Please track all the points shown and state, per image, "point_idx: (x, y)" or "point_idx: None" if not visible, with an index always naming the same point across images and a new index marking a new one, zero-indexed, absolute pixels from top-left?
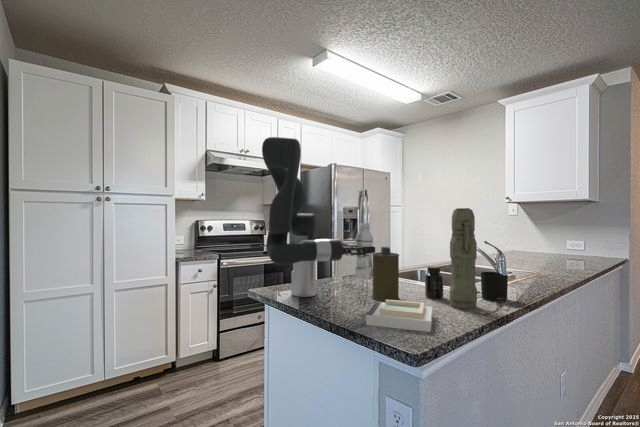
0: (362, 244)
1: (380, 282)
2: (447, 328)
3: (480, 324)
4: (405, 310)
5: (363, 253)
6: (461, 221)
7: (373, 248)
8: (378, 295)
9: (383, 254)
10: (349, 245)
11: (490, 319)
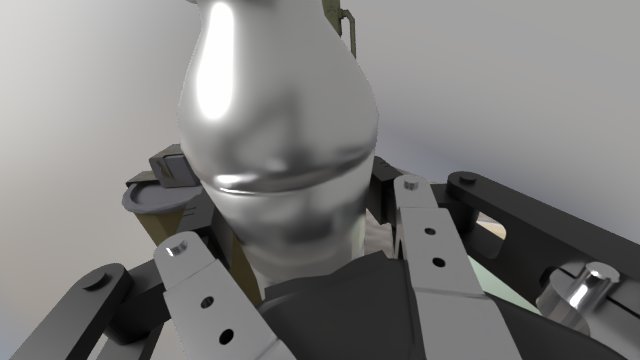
0: (368, 176)
1: (249, 269)
2: (482, 219)
3: (431, 183)
4: (474, 261)
5: (489, 232)
6: (337, 9)
7: (379, 160)
8: (254, 303)
9: (196, 180)
10: (494, 323)
11: (400, 171)
